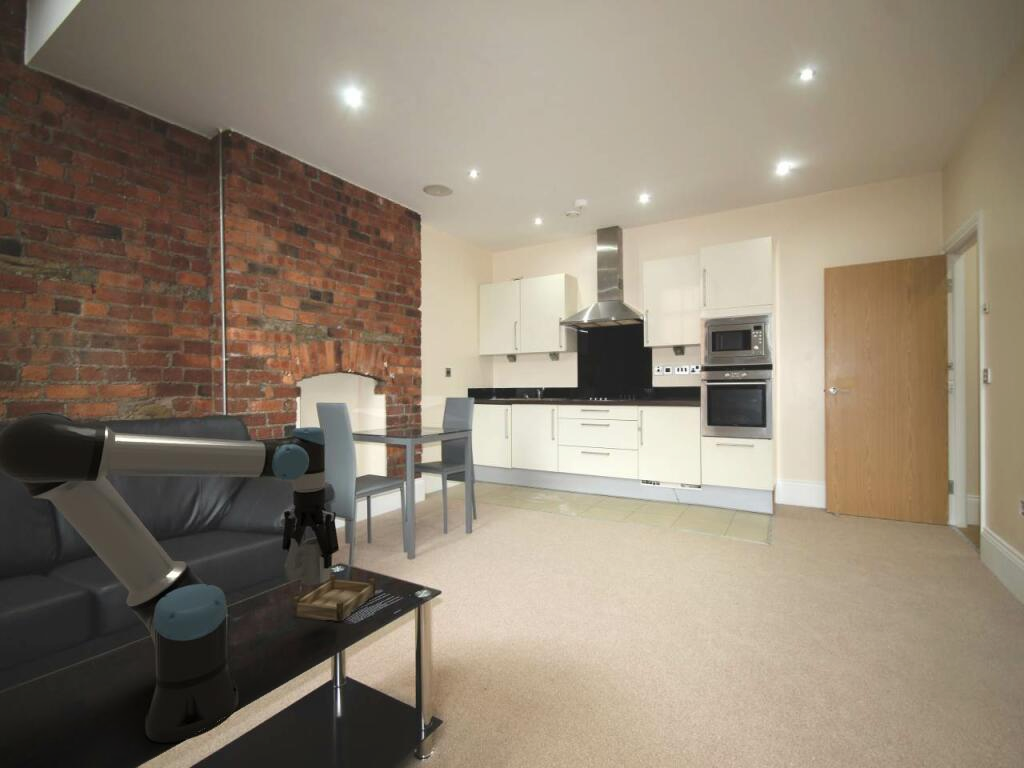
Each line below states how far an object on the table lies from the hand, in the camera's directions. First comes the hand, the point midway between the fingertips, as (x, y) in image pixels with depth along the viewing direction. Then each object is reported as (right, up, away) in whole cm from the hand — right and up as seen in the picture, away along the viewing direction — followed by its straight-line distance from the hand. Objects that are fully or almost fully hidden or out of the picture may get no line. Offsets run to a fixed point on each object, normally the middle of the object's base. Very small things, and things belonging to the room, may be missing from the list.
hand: (310, 579), depth 125 cm
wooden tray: (0, -14, +17) cm, 23 cm away
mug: (-1, -1, 0) cm, 1 cm away
